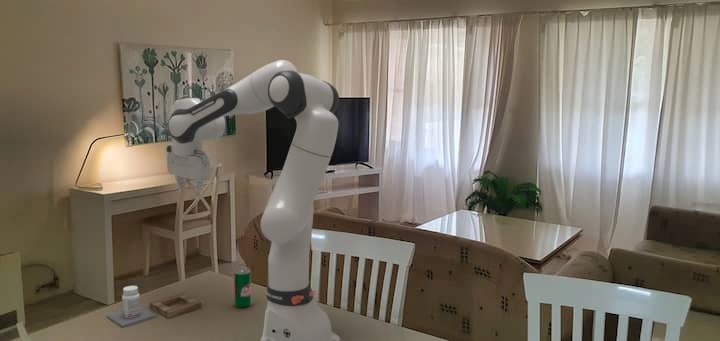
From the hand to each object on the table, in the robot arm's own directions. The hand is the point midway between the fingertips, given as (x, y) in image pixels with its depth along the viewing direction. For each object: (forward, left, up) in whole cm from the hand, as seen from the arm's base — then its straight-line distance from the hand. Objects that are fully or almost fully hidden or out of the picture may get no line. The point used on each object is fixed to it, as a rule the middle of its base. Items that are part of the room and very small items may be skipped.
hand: (189, 191), depth 176 cm
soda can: (-21, -5, -34) cm, 41 cm away
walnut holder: (-8, +10, -34) cm, 37 cm away
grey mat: (-5, +23, -34) cm, 41 cm away
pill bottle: (-5, +23, -34) cm, 41 cm away
